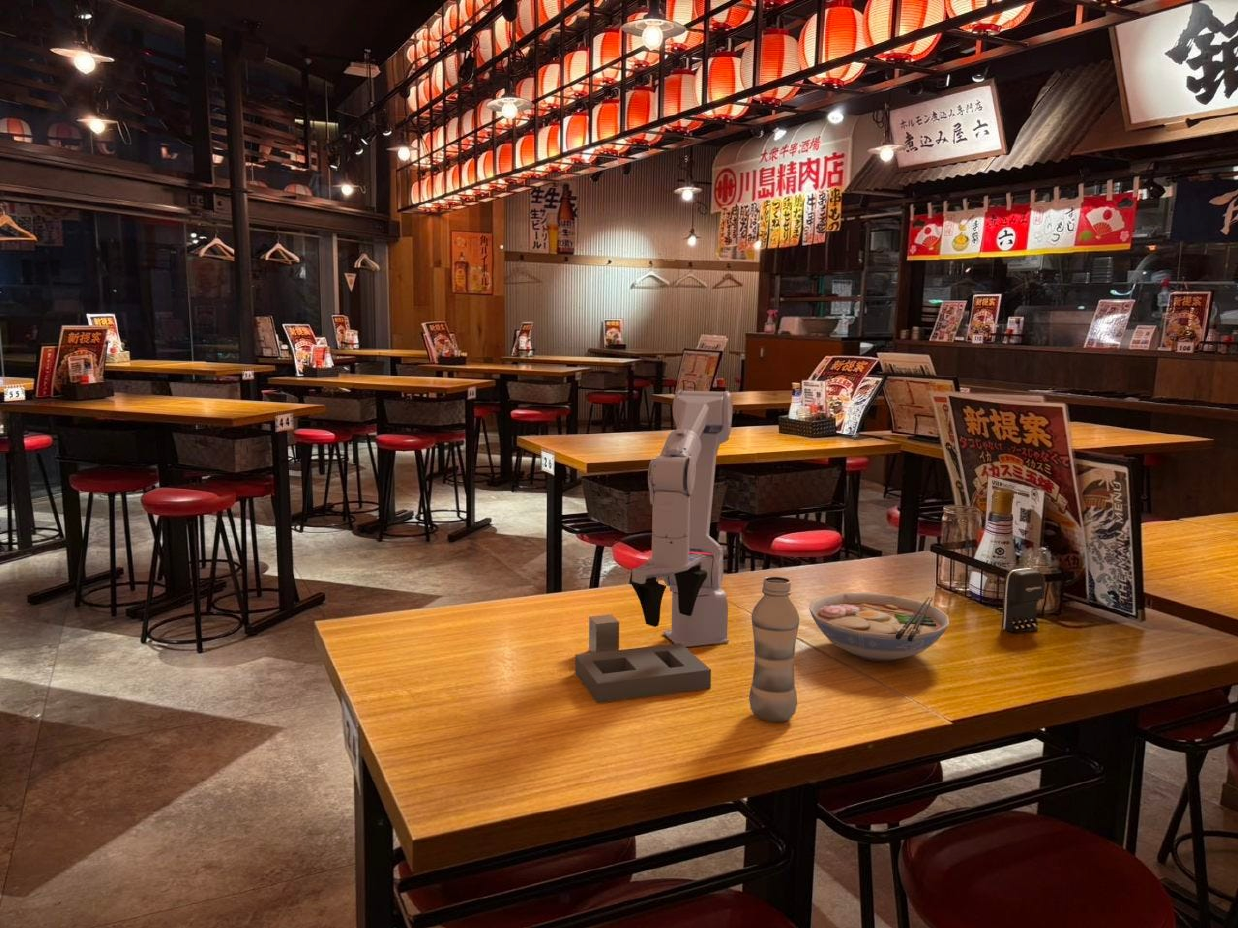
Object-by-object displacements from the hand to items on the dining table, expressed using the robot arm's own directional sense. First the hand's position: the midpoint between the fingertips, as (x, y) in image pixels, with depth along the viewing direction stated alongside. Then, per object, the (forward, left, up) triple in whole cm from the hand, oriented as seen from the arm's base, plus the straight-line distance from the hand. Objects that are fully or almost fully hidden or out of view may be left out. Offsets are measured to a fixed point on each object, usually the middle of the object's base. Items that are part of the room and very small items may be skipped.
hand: (669, 619), depth 135 cm
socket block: (+4, 0, -9) cm, 10 cm away
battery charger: (-71, -1, -10) cm, 71 cm away
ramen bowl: (-38, +1, -10) cm, 39 cm away
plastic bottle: (-9, +18, -10) cm, 22 cm away
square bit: (+6, -13, -10) cm, 17 cm away
